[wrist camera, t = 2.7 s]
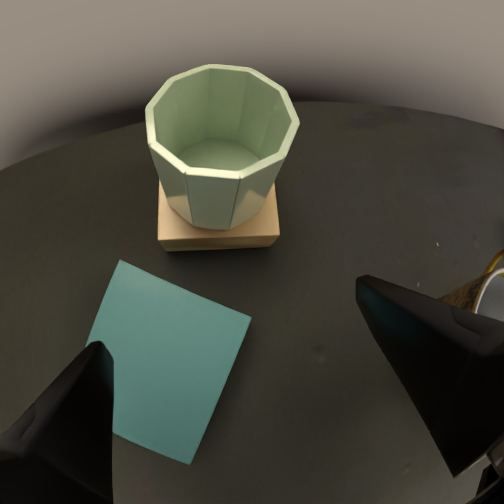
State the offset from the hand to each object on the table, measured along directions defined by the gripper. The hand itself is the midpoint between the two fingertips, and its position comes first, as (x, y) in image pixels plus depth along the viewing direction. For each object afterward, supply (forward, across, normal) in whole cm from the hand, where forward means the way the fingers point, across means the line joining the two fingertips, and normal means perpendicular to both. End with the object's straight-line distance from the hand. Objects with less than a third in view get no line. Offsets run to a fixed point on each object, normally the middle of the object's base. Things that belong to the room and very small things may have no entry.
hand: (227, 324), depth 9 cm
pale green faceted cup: (+12, -1, -2) cm, 13 cm away
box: (+8, +6, +8) cm, 13 cm away
